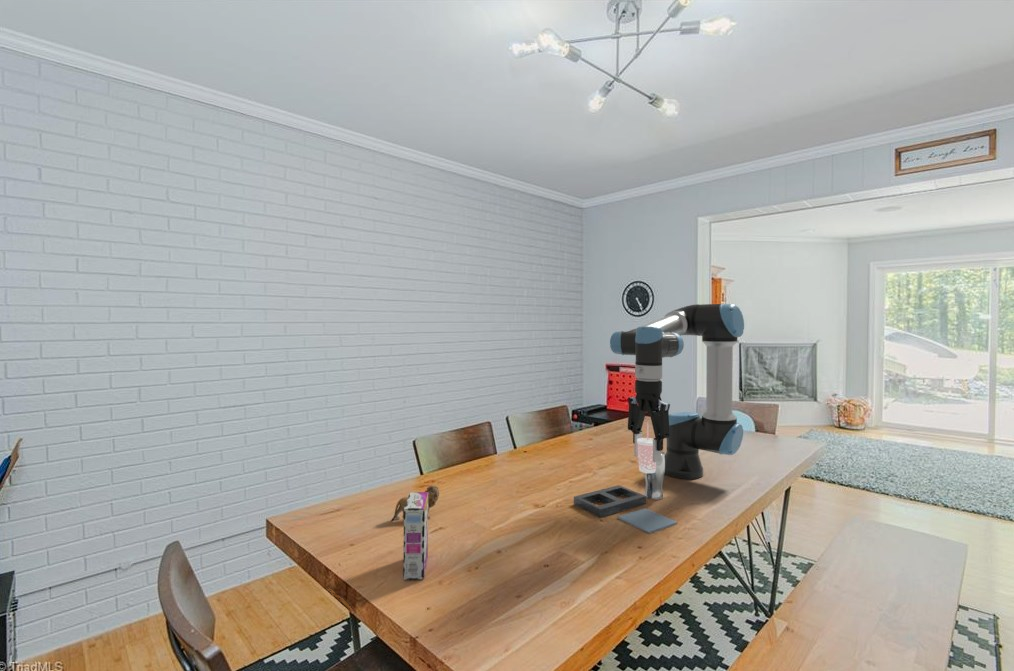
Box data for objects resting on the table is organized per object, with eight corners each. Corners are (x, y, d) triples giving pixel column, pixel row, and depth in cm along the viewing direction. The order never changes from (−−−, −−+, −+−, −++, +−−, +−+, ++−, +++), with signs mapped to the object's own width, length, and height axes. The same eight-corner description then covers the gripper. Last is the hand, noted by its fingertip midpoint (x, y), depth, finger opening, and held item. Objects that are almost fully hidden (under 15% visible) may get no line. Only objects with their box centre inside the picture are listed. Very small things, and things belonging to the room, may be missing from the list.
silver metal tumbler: (665, 501, 154) (666, 455, 154) (643, 499, 156) (644, 454, 155) (663, 493, 161) (663, 449, 161) (642, 492, 163) (642, 448, 162)
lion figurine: (435, 510, 147) (435, 481, 146) (442, 517, 142) (441, 487, 142) (388, 520, 140) (388, 489, 139) (393, 527, 135) (392, 495, 135)
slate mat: (645, 509, 148) (645, 508, 148) (677, 523, 137) (677, 522, 137) (617, 518, 141) (617, 516, 141) (648, 533, 131) (649, 531, 131)
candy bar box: (425, 580, 107) (425, 508, 107) (402, 581, 107) (402, 509, 106) (429, 555, 119) (429, 491, 118) (408, 556, 118) (408, 491, 118)
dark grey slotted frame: (618, 492, 162) (618, 485, 162) (646, 503, 152) (646, 496, 152) (573, 504, 152) (573, 496, 152) (600, 517, 142) (600, 509, 141)
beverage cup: (655, 475, 135) (655, 426, 134) (633, 471, 138) (634, 424, 137) (660, 469, 140) (661, 422, 139) (639, 466, 143) (640, 420, 143)
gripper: (615, 376, 144) (614, 452, 145) (666, 384, 128) (665, 469, 129) (632, 375, 148) (631, 448, 149) (684, 382, 132) (683, 464, 133)
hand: (647, 458), depth 139 cm, fingers closed on beverage cup, 6 cm apart
